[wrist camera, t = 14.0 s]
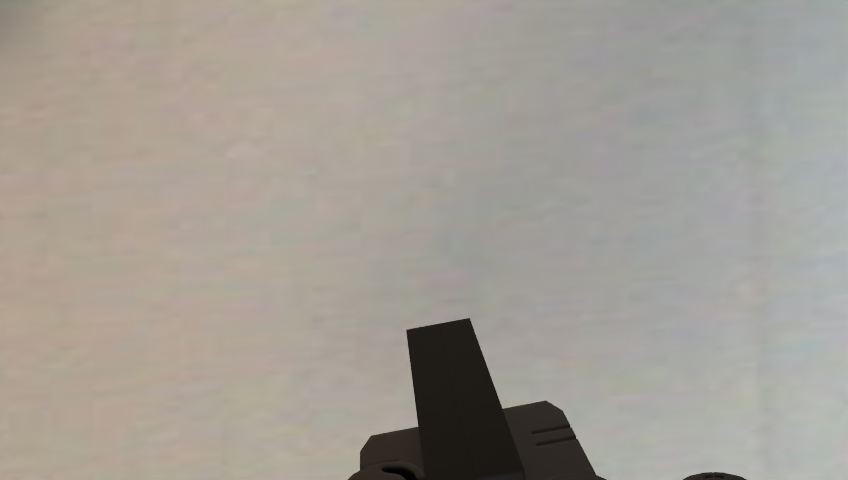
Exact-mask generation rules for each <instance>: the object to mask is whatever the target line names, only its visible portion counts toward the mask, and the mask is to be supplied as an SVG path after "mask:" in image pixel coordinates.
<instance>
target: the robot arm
mask: <svg viewBox="0 0 848 480" xmlns="http://www.w3.org/2000/svg"><path fill="white" fill-rule="evenodd" d="M406 331H407V339H408V347H409V355H410V363H411V371H412V379H413V387H414V395H415V403H416V410H417V418H418V426H419V427H415V428H410V429H404V430H399V431H394V432H389V433H383V434H378V435H373V436H371V437H370V438H369V440H368V441H367V442H366V444H365V445H364V447H363V448H362V450H361V451H360V471H358V472H357V473H355V474H353V475H352V476H351V477H350V478H349V479H348V480H606V479H604V478H601V477H599V476H597V475H596V474H595V472H594V470H593V468H592V466H591V464H590V462H589V460H588V458H587V456H586V455H585V453H584V451H583V449H582V447H581V445H580V443H579V441H578V439H576V435H575V434H574V432H573V430H572V428H570V424H569V422H568V420H567V418H566V416H565V414H564V413H563V411H562V410H560V409H559V408H557V407H556V406H554V405H552V404H551V403H549V402H547V401H541V402H536V403H531V404H526V405H520V406H515V407H510V408H505V409H502V407H501V404H500V401H499V398H498V396H497V393H496V390H495V387H494V385H493V382H492V379H491V376H490V373H489V371H488V368H487V365H486V362H485V360H484V357H483V354H482V351H481V349H480V346H479V343H478V340H477V338H476V335H475V332H474V329H473V326H472V324H471V321H470V318H467V319H462V320H457V321H451V322H446V323H441V324H435V325H430V326H425V327H419V328H414V329H409V330H406ZM683 480H746V479H744V478H742V477H740V476H736V475H731V474H727V473H718V472H714V473H712V472H709V473H701V474H696V475H692V476H689V477H687V478H685V479H683Z"/></svg>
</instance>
